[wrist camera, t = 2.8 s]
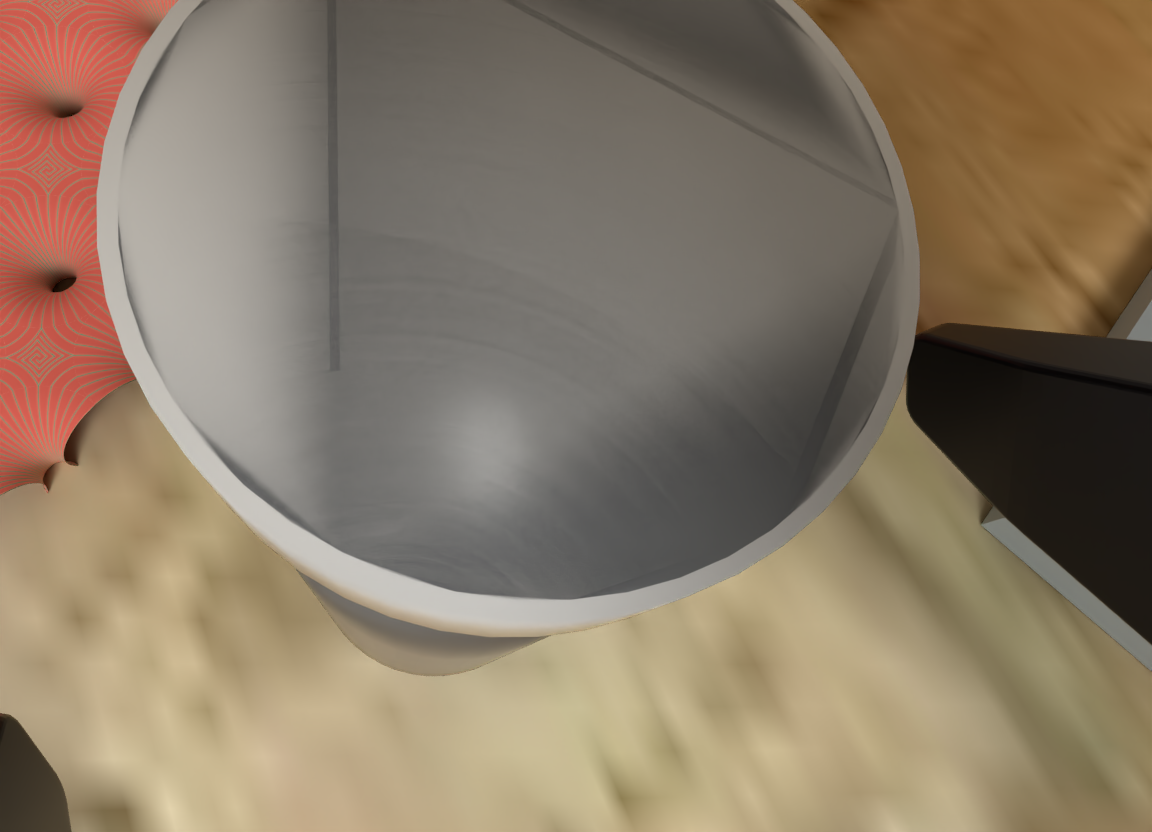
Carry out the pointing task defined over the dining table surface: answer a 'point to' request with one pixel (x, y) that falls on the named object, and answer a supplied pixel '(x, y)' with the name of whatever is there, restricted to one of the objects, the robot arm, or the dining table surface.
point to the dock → (1140, 320)
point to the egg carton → (57, 217)
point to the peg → (508, 296)
